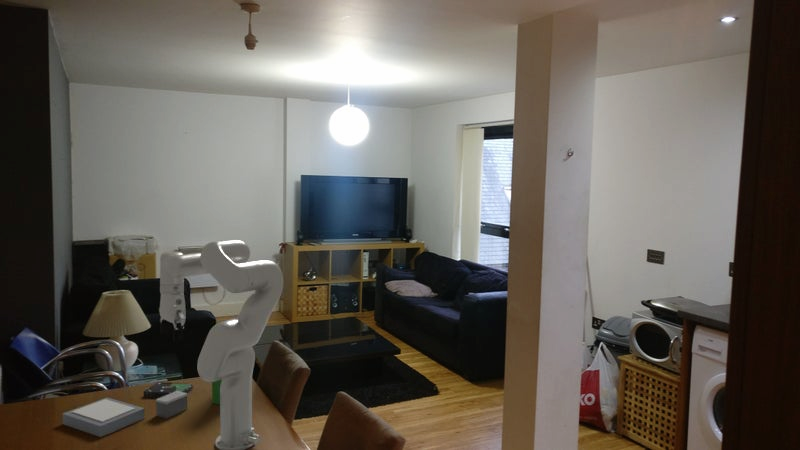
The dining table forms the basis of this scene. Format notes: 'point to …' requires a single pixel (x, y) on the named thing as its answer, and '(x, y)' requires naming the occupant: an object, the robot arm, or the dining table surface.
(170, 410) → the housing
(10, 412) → the dining table surface
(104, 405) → the stand
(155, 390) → the disk drive
